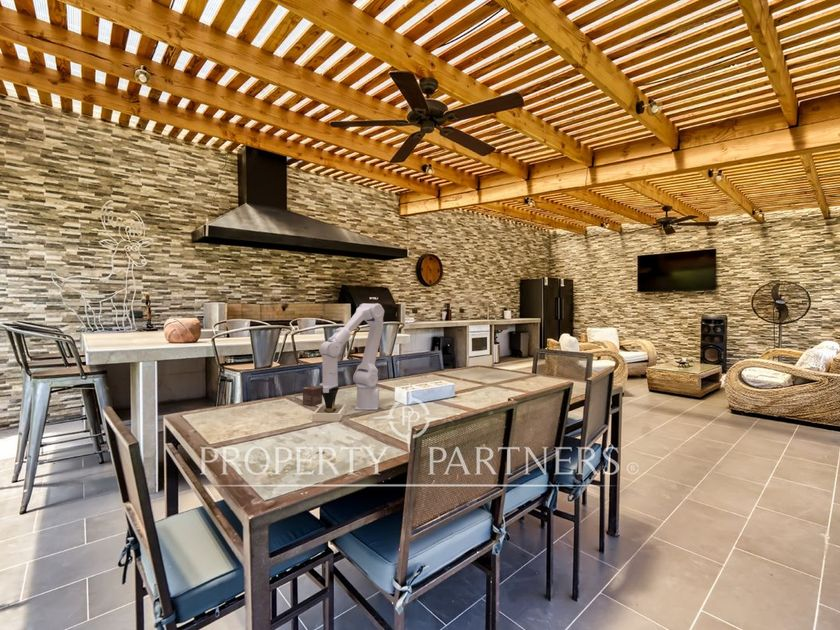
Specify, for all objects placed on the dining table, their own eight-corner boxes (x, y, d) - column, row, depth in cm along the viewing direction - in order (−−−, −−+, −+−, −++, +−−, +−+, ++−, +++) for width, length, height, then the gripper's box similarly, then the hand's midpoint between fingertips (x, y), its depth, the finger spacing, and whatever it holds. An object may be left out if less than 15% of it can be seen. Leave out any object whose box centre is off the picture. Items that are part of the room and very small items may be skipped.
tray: (346, 411, 165) (346, 404, 165) (339, 421, 151) (339, 413, 151) (321, 411, 165) (321, 404, 165) (312, 421, 151) (312, 413, 151)
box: (322, 403, 178) (322, 386, 177) (312, 406, 173) (312, 389, 172) (312, 401, 181) (312, 385, 181) (302, 404, 176) (302, 387, 176)
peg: (334, 411, 159) (334, 393, 159) (332, 413, 156) (331, 395, 156) (327, 411, 159) (326, 393, 159) (324, 413, 156) (324, 395, 156)
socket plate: (342, 412, 162) (342, 407, 162) (338, 418, 154) (338, 412, 154) (322, 412, 162) (322, 407, 162) (317, 417, 154) (317, 412, 154)
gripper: (324, 369, 164) (324, 402, 165) (314, 375, 150) (315, 412, 150) (341, 369, 164) (341, 402, 165) (333, 375, 150) (334, 412, 150)
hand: (330, 407), depth 158 cm, fingers closed on peg, 3 cm apart
